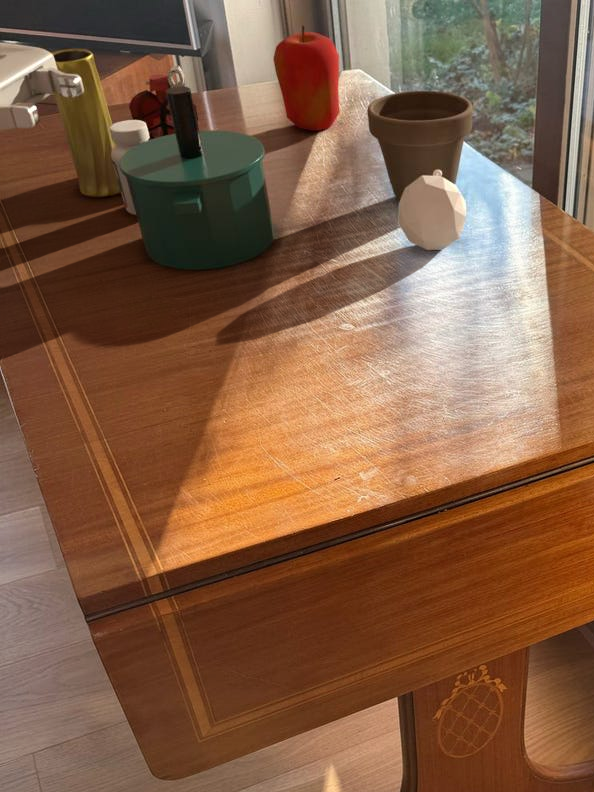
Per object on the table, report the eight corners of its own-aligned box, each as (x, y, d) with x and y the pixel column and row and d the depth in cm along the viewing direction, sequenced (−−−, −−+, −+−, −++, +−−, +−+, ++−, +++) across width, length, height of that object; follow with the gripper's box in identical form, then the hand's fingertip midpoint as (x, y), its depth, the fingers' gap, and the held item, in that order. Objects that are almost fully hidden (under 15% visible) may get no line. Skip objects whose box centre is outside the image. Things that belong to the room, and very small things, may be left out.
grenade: (206, 158, 125) (187, 71, 118) (141, 165, 124) (119, 77, 117) (205, 145, 128) (186, 59, 121) (142, 151, 127) (120, 65, 120)
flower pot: (460, 175, 119) (457, 83, 111) (486, 211, 111) (485, 114, 104) (367, 187, 117) (358, 94, 109) (386, 224, 109) (378, 127, 102)
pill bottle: (182, 204, 114) (162, 122, 108) (149, 220, 111) (127, 136, 105) (149, 195, 116) (128, 114, 110) (116, 211, 113) (93, 128, 107)
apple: (293, 114, 136) (279, 16, 128) (352, 115, 135) (341, 16, 127) (276, 135, 130) (259, 34, 122) (337, 137, 129) (325, 34, 121)
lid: (112, 198, 96) (89, 119, 91) (132, 145, 106) (113, 72, 101) (262, 187, 96) (248, 109, 91) (268, 137, 107) (256, 64, 102)
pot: (136, 286, 100) (111, 200, 94) (158, 212, 113) (138, 133, 107) (270, 276, 100) (255, 191, 94) (277, 204, 114) (263, 125, 108)
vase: (69, 195, 117) (27, 61, 107) (100, 176, 121) (62, 45, 111) (112, 200, 116) (74, 65, 106) (142, 181, 120) (107, 49, 110)
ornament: (384, 246, 105) (394, 168, 103) (448, 263, 107) (460, 186, 106) (403, 235, 98) (415, 151, 97) (471, 253, 101) (483, 171, 100)
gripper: (-151, 87, 88) (-8, 98, 87) (-30, 29, 103) (94, 37, 101) (-121, 161, 93) (15, 172, 91) (-10, 95, 107) (110, 104, 106)
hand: (58, 100), depth 96 cm, fingers open, 8 cm apart
